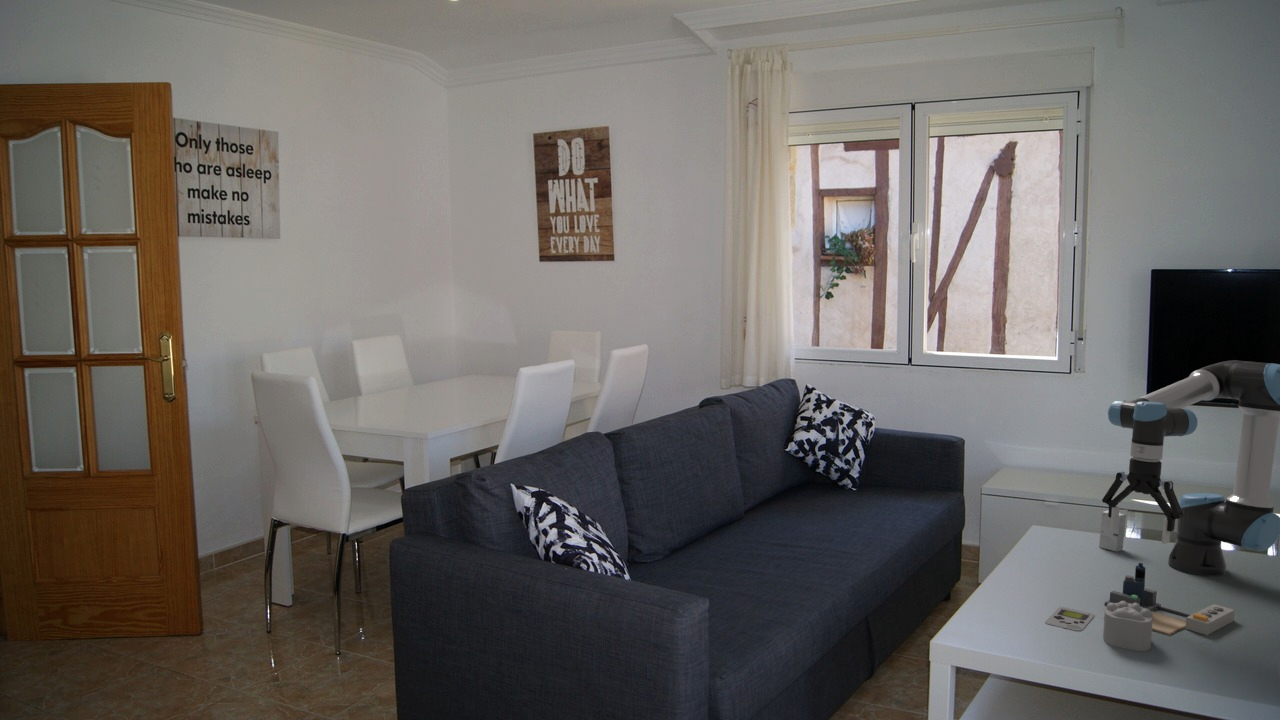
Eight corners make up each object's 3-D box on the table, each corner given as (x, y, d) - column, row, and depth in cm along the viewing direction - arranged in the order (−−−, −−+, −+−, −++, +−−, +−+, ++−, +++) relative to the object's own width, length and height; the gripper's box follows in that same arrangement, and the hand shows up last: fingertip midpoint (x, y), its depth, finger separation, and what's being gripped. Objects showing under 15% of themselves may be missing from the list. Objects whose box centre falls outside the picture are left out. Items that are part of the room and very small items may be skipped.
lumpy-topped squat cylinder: (1101, 644, 220) (1103, 609, 219) (1104, 626, 231) (1106, 593, 230) (1150, 653, 215) (1153, 618, 214) (1151, 634, 226) (1153, 601, 225)
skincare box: (1098, 547, 297) (1100, 511, 296) (1105, 545, 300) (1107, 509, 298) (1117, 552, 292) (1119, 515, 291) (1124, 549, 295) (1126, 513, 293)
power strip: (1212, 614, 239) (1213, 601, 239) (1233, 620, 235) (1234, 606, 235) (1185, 628, 230) (1186, 614, 229) (1207, 635, 226) (1208, 620, 225)
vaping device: (1144, 608, 243) (1147, 565, 242) (1123, 607, 244) (1126, 564, 243) (1141, 605, 246) (1144, 562, 244) (1120, 603, 247) (1123, 561, 246)
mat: (1142, 610, 242) (1142, 608, 242) (1190, 624, 232) (1190, 622, 232) (1120, 620, 235) (1120, 618, 235) (1168, 635, 225) (1169, 633, 225)
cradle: (1124, 596, 252) (1125, 580, 252) (1205, 619, 235) (1206, 602, 235) (1104, 605, 246) (1105, 588, 245) (1186, 629, 229) (1187, 612, 228)
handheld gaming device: (1044, 622, 232) (1060, 605, 244) (1044, 624, 233) (1059, 608, 244) (1081, 630, 227) (1095, 613, 238) (1080, 633, 227) (1095, 616, 239)
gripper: (1092, 452, 250) (1086, 526, 252) (1189, 469, 230) (1181, 550, 232) (1106, 449, 255) (1100, 523, 257) (1202, 466, 235) (1195, 546, 236)
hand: (1139, 536), depth 244 cm, fingers open, 13 cm apart
